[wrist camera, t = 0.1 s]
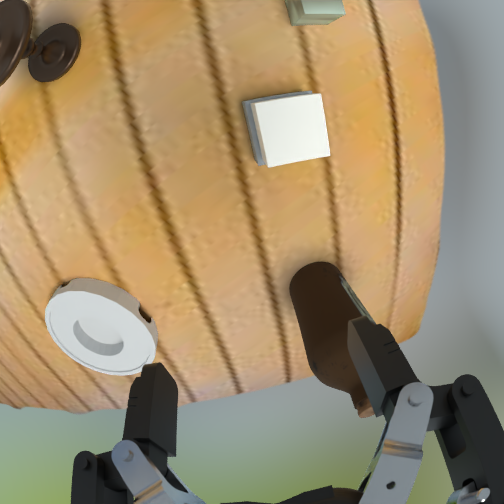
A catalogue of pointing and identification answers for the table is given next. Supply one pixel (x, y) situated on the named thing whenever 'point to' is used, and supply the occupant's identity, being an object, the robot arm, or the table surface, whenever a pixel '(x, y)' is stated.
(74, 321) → the ashtray
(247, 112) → the slate base block
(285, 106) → the cream top block
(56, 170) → the table surface
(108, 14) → the table surface
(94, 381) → the table surface
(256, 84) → the table surface
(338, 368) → the olive oil
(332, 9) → the sage block
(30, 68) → the candlestick
